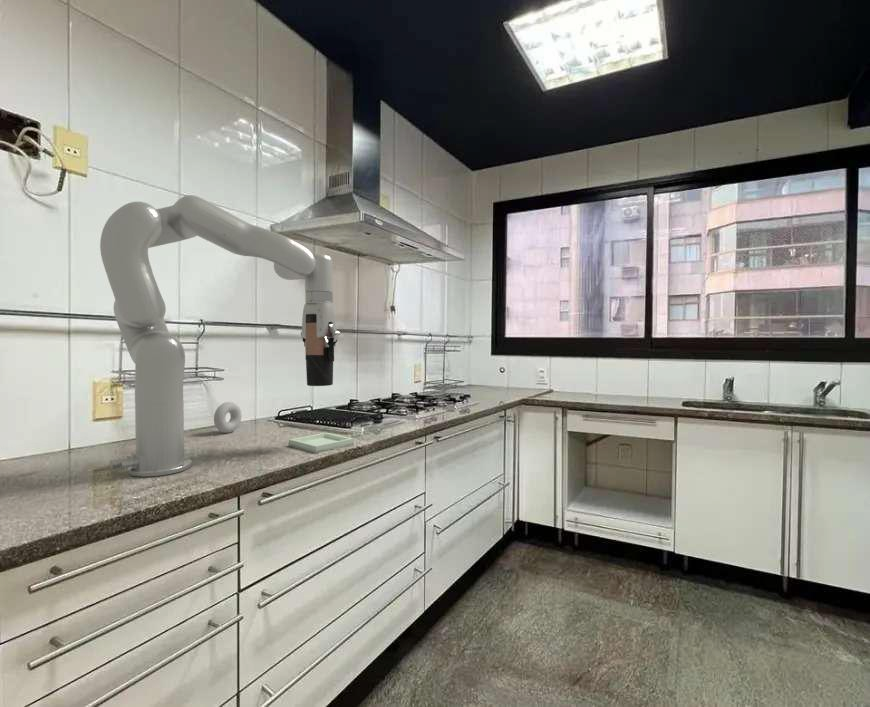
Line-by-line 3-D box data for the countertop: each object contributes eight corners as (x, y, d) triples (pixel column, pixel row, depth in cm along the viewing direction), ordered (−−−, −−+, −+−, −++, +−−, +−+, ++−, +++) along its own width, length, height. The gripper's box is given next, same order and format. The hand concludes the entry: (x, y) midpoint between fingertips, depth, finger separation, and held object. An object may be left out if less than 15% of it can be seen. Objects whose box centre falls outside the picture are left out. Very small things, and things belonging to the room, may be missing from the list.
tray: (316, 453, 120) (316, 446, 120) (288, 445, 129) (288, 439, 129) (353, 444, 130) (353, 438, 130) (326, 438, 139) (325, 432, 139)
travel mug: (326, 386, 124) (325, 313, 124) (301, 385, 126) (300, 314, 125) (338, 383, 132) (337, 315, 131) (313, 383, 133) (313, 315, 133)
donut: (236, 429, 151) (235, 399, 151) (244, 430, 150) (243, 400, 150) (211, 435, 142) (211, 403, 142) (219, 436, 141) (219, 404, 140)
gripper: (289, 299, 131) (290, 360, 131) (327, 296, 120) (328, 362, 120) (311, 301, 136) (312, 359, 137) (349, 298, 125) (350, 361, 126)
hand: (319, 360), depth 129 cm, fingers closed on travel mug, 7 cm apart
